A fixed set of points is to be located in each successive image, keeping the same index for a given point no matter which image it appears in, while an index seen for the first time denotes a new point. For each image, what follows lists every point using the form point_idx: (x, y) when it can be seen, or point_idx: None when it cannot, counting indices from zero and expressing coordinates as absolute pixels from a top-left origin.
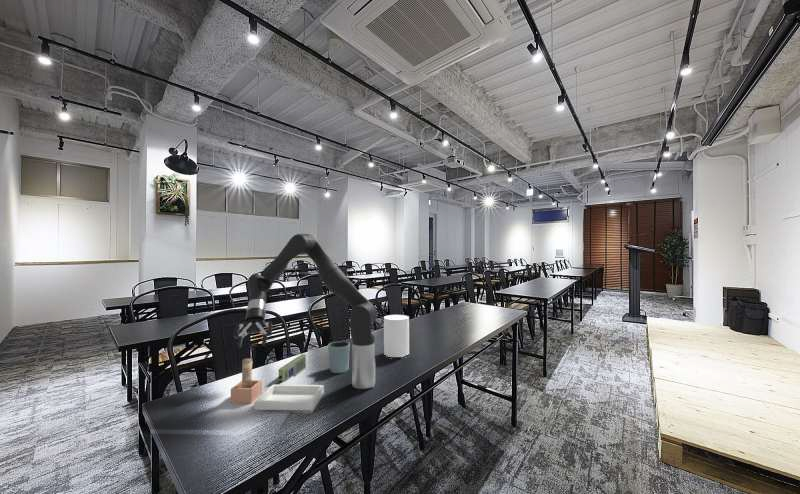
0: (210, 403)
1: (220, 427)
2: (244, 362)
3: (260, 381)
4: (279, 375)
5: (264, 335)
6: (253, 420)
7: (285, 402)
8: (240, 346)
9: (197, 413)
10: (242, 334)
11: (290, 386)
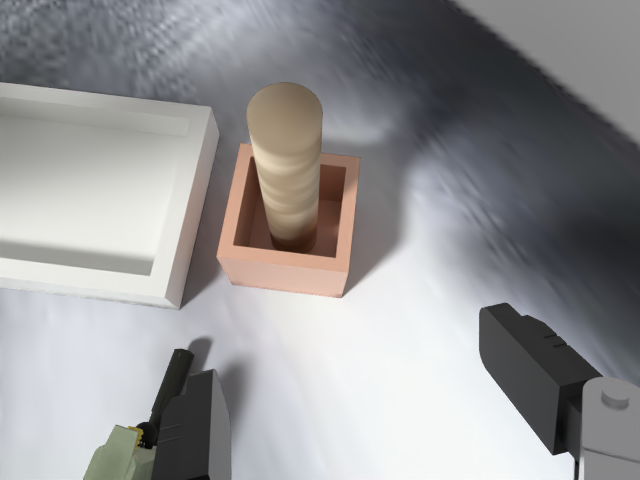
0: (463, 232)
1: (310, 53)
2: (292, 88)
3: (220, 237)
4: (146, 449)
5: (178, 469)
6: (203, 81)
7: (62, 90)
8: (483, 332)
9: (463, 151)
10: (583, 418)
11: (52, 265)
